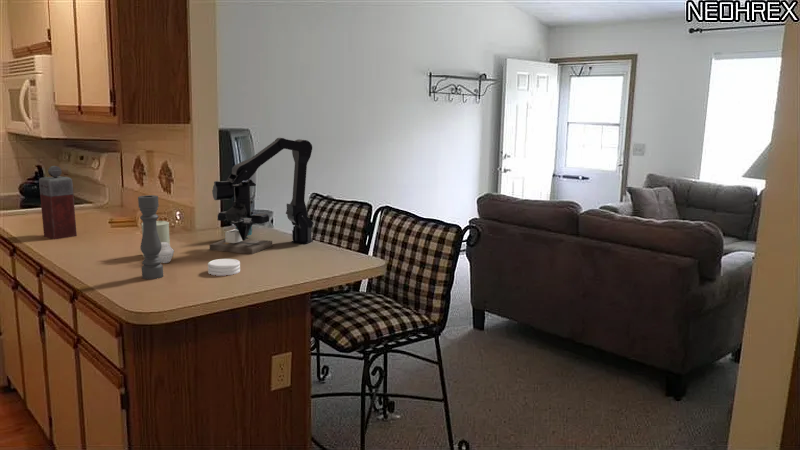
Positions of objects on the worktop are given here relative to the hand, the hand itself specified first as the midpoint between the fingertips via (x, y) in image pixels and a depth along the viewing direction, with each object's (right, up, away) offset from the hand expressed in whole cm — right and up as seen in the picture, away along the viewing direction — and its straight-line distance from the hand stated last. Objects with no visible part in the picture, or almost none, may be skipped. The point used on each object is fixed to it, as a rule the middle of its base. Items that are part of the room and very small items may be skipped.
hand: (243, 240), depth 241 cm
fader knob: (-4, 0, +1) cm, 4 cm away
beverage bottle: (-4, 0, +19) cm, 19 cm away
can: (-28, -5, -12) cm, 31 cm away
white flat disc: (+2, -10, -33) cm, 35 cm away
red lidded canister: (-78, +1, +19) cm, 81 cm away
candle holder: (-19, -11, -40) cm, 45 cm away
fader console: (-1, -3, +1) cm, 3 cm away
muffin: (-22, -7, -21) cm, 31 cm away
